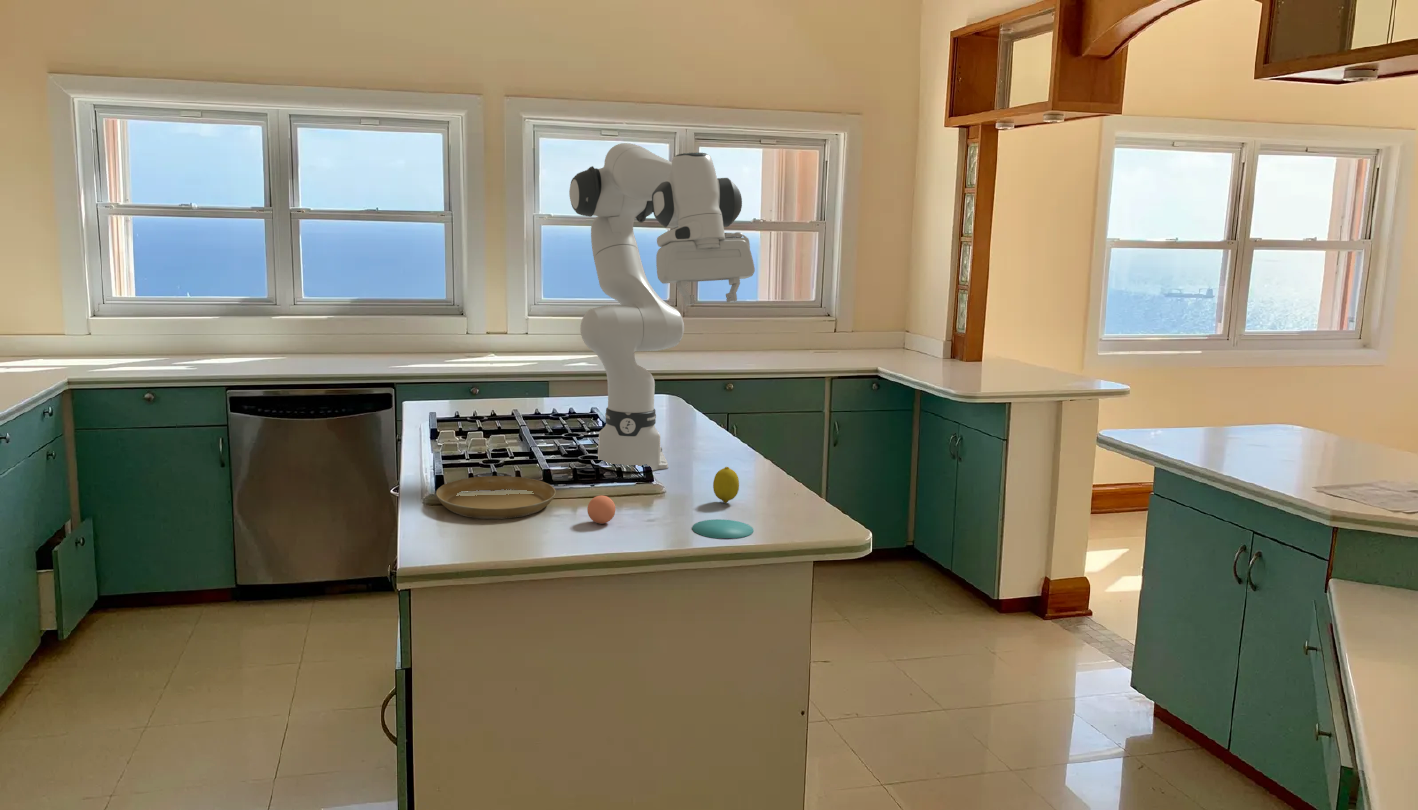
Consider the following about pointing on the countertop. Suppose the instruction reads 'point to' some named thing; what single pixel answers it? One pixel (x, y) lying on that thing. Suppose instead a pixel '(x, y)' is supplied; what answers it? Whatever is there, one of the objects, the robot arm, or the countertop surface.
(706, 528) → the disc
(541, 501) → the plant saucer
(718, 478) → the lemon
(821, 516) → the countertop surface
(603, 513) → the ball
